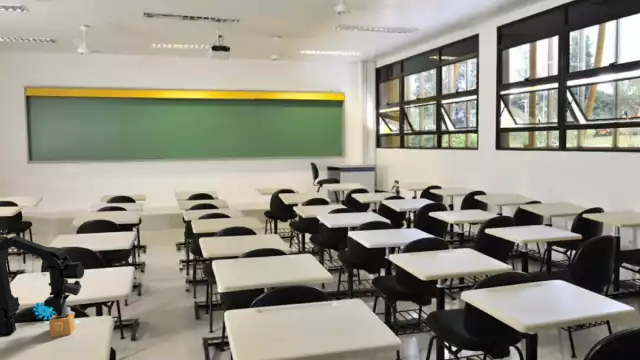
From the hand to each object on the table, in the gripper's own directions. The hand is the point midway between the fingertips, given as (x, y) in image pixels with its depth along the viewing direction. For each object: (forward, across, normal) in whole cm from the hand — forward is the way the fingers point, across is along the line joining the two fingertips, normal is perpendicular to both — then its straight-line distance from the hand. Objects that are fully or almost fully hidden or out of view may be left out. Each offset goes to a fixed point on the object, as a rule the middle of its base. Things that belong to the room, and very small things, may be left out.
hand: (61, 314), depth 209 cm
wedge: (+3, 0, 0) cm, 3 cm away
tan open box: (+8, +2, 0) cm, 8 cm away
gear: (+8, +19, +13) cm, 25 cm away
